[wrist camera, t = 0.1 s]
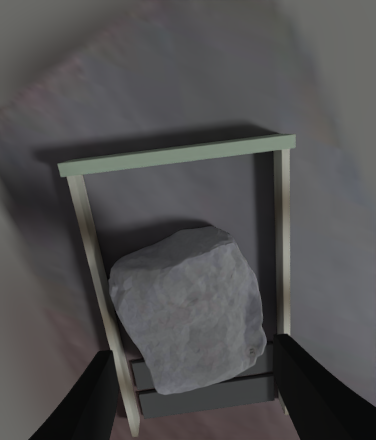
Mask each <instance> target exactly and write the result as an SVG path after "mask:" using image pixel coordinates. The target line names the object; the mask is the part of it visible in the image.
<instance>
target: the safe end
mask: <svg viewBox="0 0 376 440" xmlns="http://www.w3.org/2000/svg"><path fill="white" fill-rule="evenodd" d="M295 135H296V134H273V135H265V136H257V137H249V138H241V139H233V140H225V141H217V142H209V143H201V144H193V145H185V146H177V147H169V148H161V149H153V150H145V151H137V152H129V153H120V154H112V155H104V156H96V157H88V158H80V159H72V160H69V161H65V162H62V163H59V164H58V168H59V172H60V176H61V177H67V176H75V175H83V174H91V173H99V172H107V171H115V170H123V169H131V168H139V167H147V166H155V165H163V164H170V163H178V162H186V161H194V160H202V159H210V158H218V157H226V156H234V155H242V154H250V153H258V152H266V151H274V150H282V149H290V148H295Z"/></svg>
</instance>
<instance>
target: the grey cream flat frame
mask: <svg viewBox="0 0 376 440" xmlns="http://www.w3.org/2000/svg"><path fill="white" fill-rule="evenodd" d="M273 154H274V202H275V250H276V298H277V334H286V333H287V334H288V335H289V336H290V149H282V150H274V151H273ZM67 180H68V184H69V188H70V192H71V196H72V200H73V204H74V208H75V212H76V216H77V220H78V224H79V228H80V232H81V236H82V240H83V244H84V248H85V251H86V255H87V259H88V263H89V267H90V271H91V275H92V279H93V283H94V287H95V291H96V295H97V299H98V303H99V307H100V311H101V315H102V319H103V323H104V327H105V330H106V334H107V338H108V342H109V346H110V350H113V355H114V361H115V366H116V371H117V377H118V382H119V386H120V390H121V394H122V398H123V402H124V405H125V409H126V413H127V417H128V421H129V425H130V429H131V433H132V437H136V436H138V432H139V422H140V417H139V413H138V409H137V404H136V400H135V396H134V392H133V387H132V383H131V379H130V375H129V370H128V366H127V362H126V357H125V353H124V349H123V345H122V340H121V336H120V332H119V328H118V323H117V319H116V315H115V311H114V306H113V302H112V299H111V296H110V294H109V285H108V281H107V277H106V272H105V268H104V264H103V259H102V255H101V251H100V247H99V242H98V238H97V234H96V230H95V225H94V221H93V217H92V213H91V208H90V204H89V200H88V196H87V191H86V187H85V183H84V179H83V175H75V176H67ZM278 395H279V401H280V404H281V406H282V409H283V411H284V414H285V415H289V413H288V411H287V409H286V406H285V404H284V402H283V400H282V397H281V395H280V392H279V389H278Z"/></svg>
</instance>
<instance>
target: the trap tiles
mask: <svg viewBox="0 0 376 440" xmlns="http://www.w3.org/2000/svg"><path fill="white" fill-rule="evenodd" d="M132 367H133V371H134V376H135V380H136V385H137V389H138V390H141V389H148V388H155V387H154V385H153V382H152V379H151V375H150V372H149V368H148V367H147V365H146V363H145V360H137V361H132ZM272 367H273V343H272V342H267V343H266V346H265V348H264V352H263V354H262V355H260V356H258V357H257V359H256V363H255V365H253V366H252V367H250V368H248V369H246V370H245V371H243V372H241V373H240V374H238V375H236V376H241V375H248V374H255V373H262V372H269V371H272ZM139 398H140V402H141V407H142V411H143V415H144V419H147V418H154V417H161V416H168V415H175V414H182V413H189V412H196V411H203V410H210V409H217V408H224V407H231V406H238V405H245V404H252V403H259V402H267V401H274V375H273V373H271V374H264V375H257V376H250V377H243V378H236V379H228V380H225V381H221V382H219V383H215V384H212V385H209V386H205V387H201V388H196V389H194V390H191V391H186V392H183V393H173V394H167V395H163V394H160V393H158V392H157V391H156V390H150V391H143V392H139Z"/></svg>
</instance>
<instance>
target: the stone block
mask: <svg viewBox="0 0 376 440" xmlns="http://www.w3.org/2000/svg"><path fill="white" fill-rule="evenodd" d="M108 282H109V294H110V296H111V299H112V302H113V304H114V307H115V310H116V312H117V315H118V317H119V319H120V321H121V322H122V324H123V326H124V327H125V330H126V332H127V333H128V335H129V336H130V338H131V339H132V341H133V342H134V343H135V345H136V346H137V347H138V349H139V350H140V352H141V354H142V355H143V357H144V360H145V363H146V365H147V367H148V368H149V372H150V375H151V379H152V382H153V385H154V387H155V389H156V391H157V392H158V393H160V394H163V395H167V394H173V393H183V392H186V391H191V390H194V389H196V388H201V387H205V386H209V385H212V384H215V383H219V382H221V381H225V380H228V379H231V378H233V377H234V376H236V375H238V374H240V373H241V372H243V371H245V370H246V369H248V368H250V367H252V366H253V365H255V363H256V359H257V357H258V356H260V355H262V354H263V352H264V348H265V346H266V343H267V340H266V335H265V332H264V331H263V328H262V322H263V313H262V302H261V297H260V292H259V289H258V283H257V278H256V275H255V273H254V272H253V271H252V269H251V268H250V266H249V265H248V263H247V260H246V259H245V258H244V257H243V255H242V254H241V252H240V250H239V248H238V245H237V243H236V242H235V240H234V238H233V237H232V236H231V235H230V234H229V233H227V232H225V231H223V230H221V229H218V228H216V227H214V226H208V227H202V228H195V229H182V230H179V231H177V232H176V233H174V234H173V235H171V236H169V237H167V238H165V239H163V240H162V241H160V242H158V243H155V244H153V245H151V246H146V247H144V248H142V249H140V250H138V251H135V252H132V253H130V254H128V255H126V256H123V257H121V258H120V259H119V260H117V261H116V263H115V264H114V266H113V267H112V268H111V272H110V279H109V280H108Z"/></svg>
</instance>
